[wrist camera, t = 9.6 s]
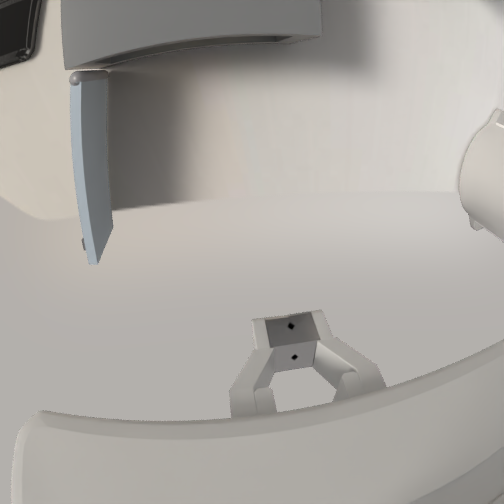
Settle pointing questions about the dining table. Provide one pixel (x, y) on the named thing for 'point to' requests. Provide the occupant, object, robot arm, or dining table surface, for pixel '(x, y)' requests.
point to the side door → (91, 158)
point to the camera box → (177, 27)
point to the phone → (17, 30)
